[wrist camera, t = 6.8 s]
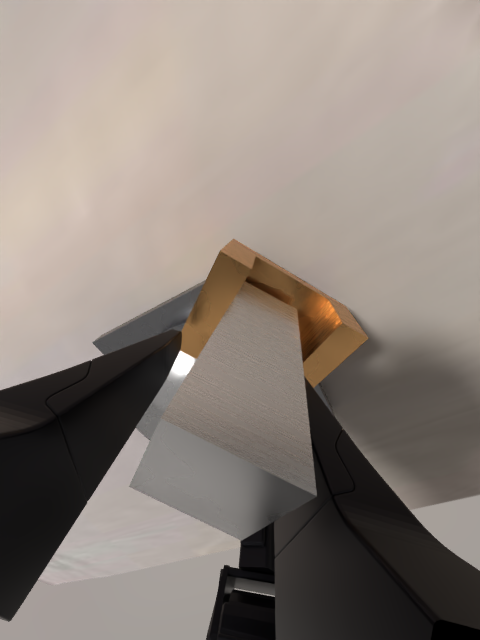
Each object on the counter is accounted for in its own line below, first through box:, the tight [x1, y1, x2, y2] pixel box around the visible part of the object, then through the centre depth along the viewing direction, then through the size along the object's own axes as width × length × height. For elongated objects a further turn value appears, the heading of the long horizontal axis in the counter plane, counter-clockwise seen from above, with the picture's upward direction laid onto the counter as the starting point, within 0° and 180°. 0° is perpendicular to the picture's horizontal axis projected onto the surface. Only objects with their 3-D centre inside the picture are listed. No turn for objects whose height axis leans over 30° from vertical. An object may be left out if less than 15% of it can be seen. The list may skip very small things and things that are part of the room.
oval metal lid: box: [136, 239, 368, 440], centre depth 13 cm, size 16×11×4 cm
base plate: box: [92, 280, 335, 417], centre depth 17 cm, size 14×14×1 cm
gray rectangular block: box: [129, 282, 317, 540], centre depth 8 cm, size 3×3×8 cm
